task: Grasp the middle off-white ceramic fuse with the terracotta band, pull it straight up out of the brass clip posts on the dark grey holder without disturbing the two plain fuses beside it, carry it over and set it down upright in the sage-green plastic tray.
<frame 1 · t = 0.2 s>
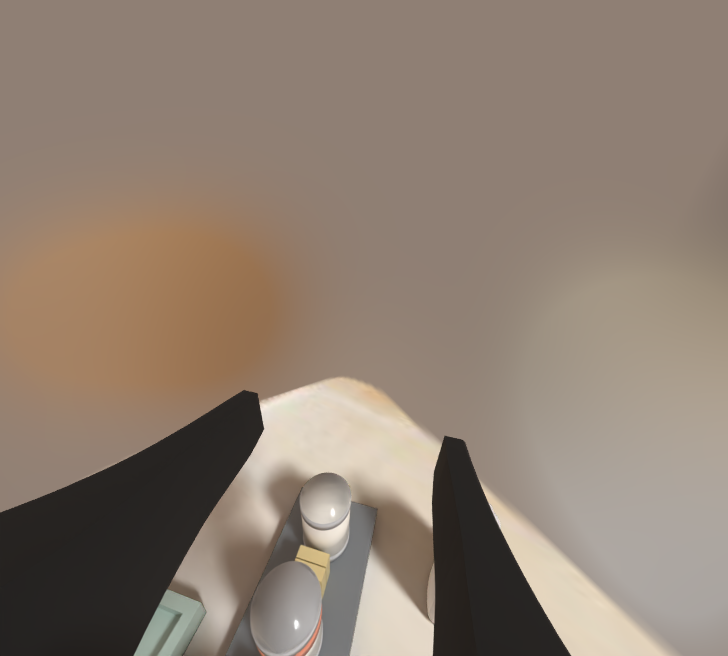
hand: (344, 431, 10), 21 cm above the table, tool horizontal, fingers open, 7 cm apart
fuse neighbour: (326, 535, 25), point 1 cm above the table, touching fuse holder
eye dropper bottle: (448, 590, 23), on the table
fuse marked: (293, 637, 19), point 1 cm above the table, touching fuse holder
fuse holder: (294, 643, 20), on the table
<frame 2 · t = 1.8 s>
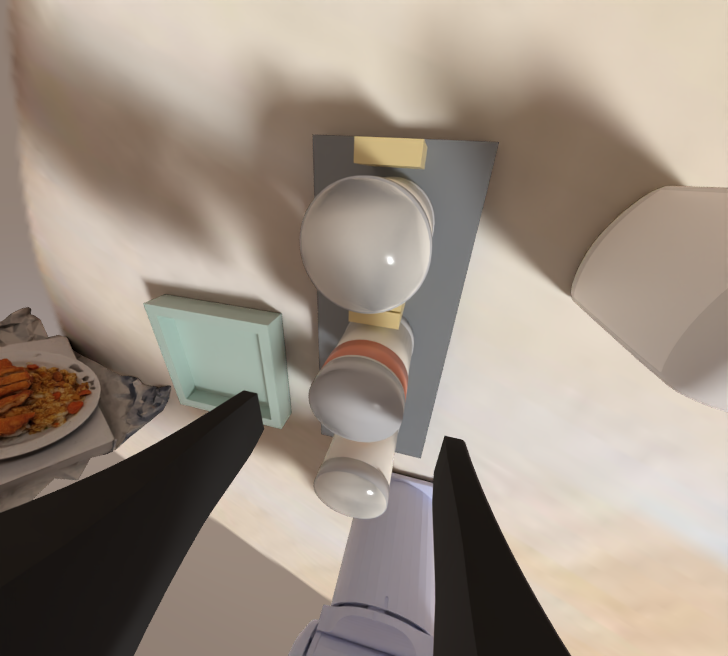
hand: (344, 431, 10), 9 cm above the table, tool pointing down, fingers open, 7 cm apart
meal: (103, 353, 27), on the table
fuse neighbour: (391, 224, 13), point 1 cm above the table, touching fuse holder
eye dropper bottle: (624, 253, 13), on the table
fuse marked: (380, 337, 17), point 1 cm above the table, touching fuse holder
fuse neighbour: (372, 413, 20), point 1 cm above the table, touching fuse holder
tray: (232, 357, 22), on the table
fuse holder: (383, 328, 18), on the table
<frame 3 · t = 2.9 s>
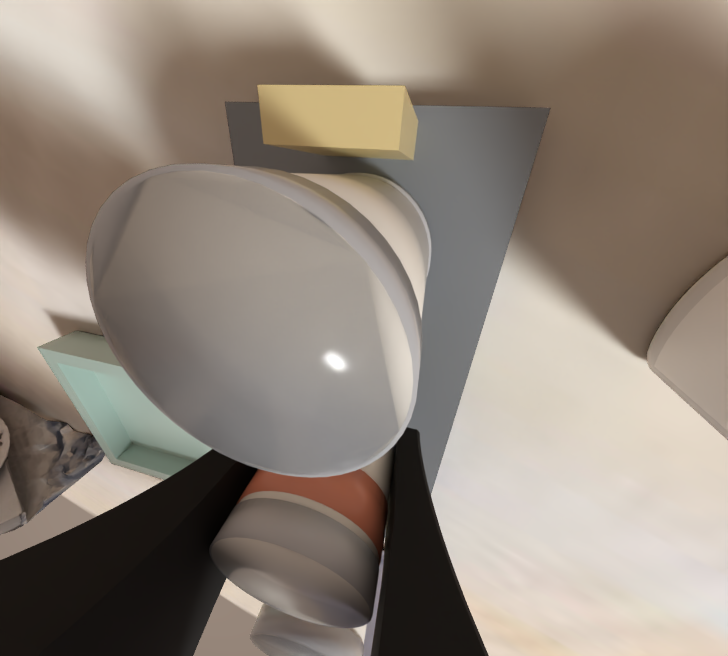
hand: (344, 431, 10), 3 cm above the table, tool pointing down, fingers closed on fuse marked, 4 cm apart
meal: (24, 393, 22), on the table
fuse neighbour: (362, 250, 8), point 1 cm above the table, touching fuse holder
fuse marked: (354, 405, 12), point 1 cm above the table, touching fuse holder, gripper
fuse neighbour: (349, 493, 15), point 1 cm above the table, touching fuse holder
tray: (171, 409, 17), on the table
fuse holder: (361, 386, 13), on the table
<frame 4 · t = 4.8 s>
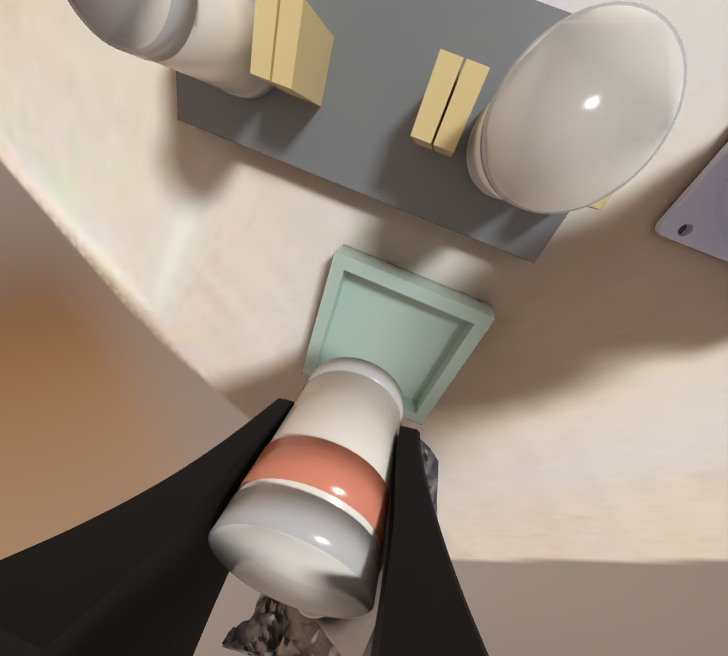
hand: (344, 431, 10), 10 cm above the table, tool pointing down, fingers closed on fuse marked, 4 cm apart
meal: (362, 463, 27), on the table
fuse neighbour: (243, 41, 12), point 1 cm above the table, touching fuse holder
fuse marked: (354, 397, 11), point 8 cm above the table, touching gripper
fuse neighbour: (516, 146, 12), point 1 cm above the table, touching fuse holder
tray: (388, 335, 19), on the table
fuse holder: (381, 99, 13), on the table
when the fingers open (3 cm above the table, at t = 6.6 s): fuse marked stays where it is, resting on tray.
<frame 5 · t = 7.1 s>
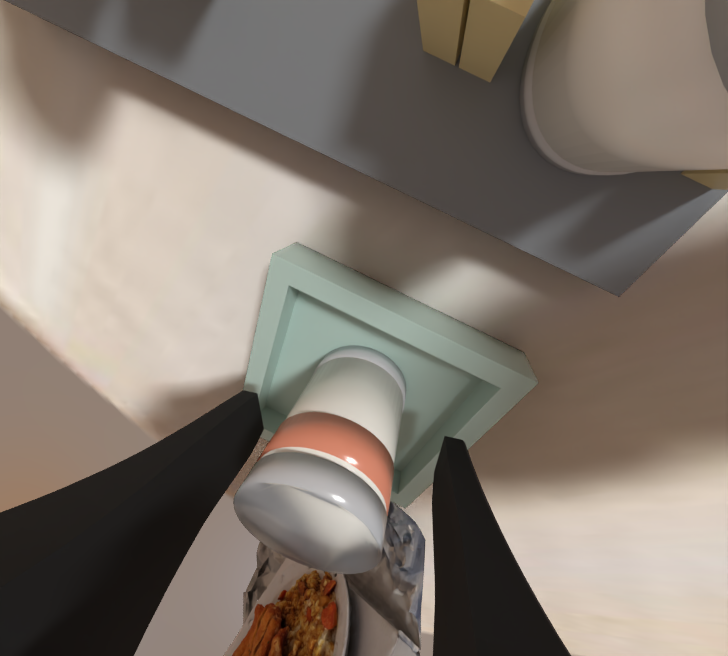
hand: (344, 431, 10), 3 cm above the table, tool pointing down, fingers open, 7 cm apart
meal: (327, 526, 21), on the table
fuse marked: (360, 384, 12), point 1 cm above the table, touching tray
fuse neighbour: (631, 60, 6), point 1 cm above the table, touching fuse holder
tray: (363, 381, 13), on the table
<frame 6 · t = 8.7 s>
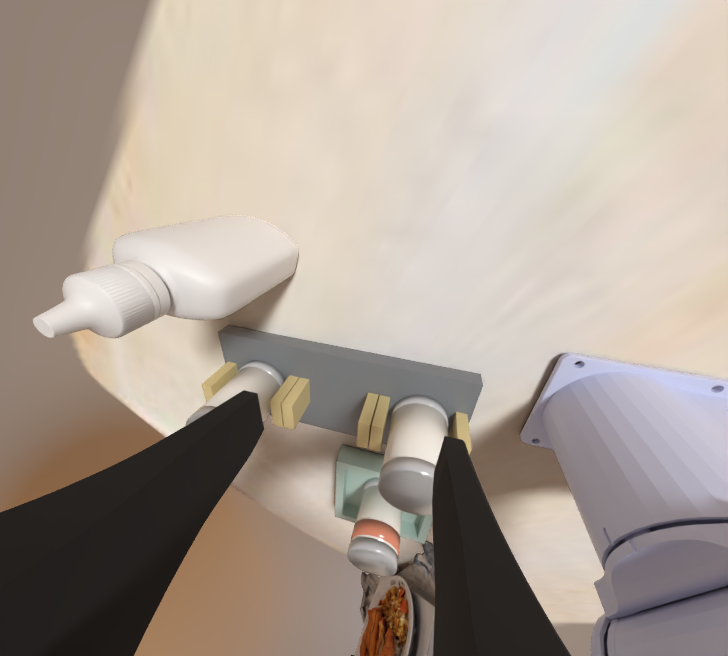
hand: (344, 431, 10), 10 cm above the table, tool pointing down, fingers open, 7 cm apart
meal: (397, 559, 35), on the table
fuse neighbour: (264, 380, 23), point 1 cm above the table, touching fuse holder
eye dropper bottle: (264, 244, 19), on the table
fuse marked: (384, 490, 27), point 1 cm above the table, touching tray
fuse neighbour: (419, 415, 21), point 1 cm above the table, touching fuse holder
tray: (386, 487, 28), on the table
fuse holder: (342, 387, 23), on the table
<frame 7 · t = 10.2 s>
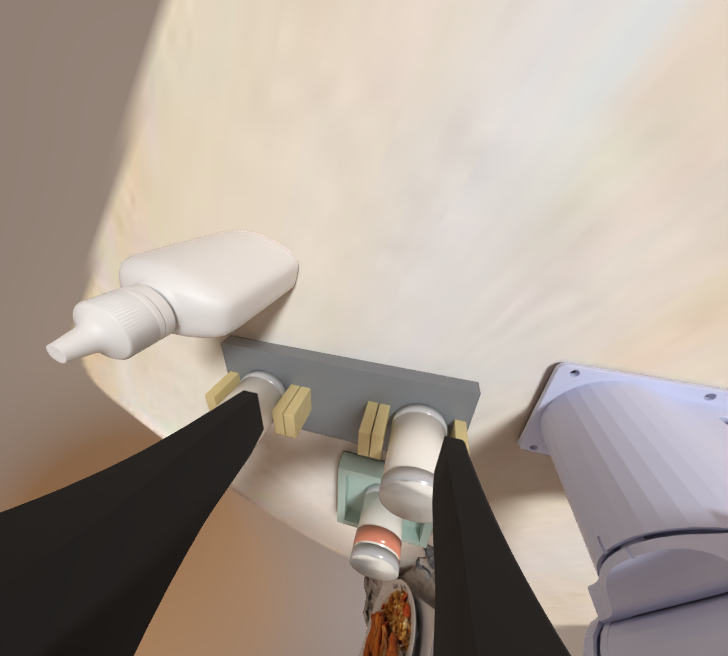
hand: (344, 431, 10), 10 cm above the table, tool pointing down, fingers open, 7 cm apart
meal: (399, 562, 35), on the table
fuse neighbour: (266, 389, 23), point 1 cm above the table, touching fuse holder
eye dropper bottle: (264, 257, 19), on the table
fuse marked: (385, 496, 28), point 1 cm above the table, touching tray
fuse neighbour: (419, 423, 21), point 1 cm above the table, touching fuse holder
tray: (387, 492, 28), on the table
fuse holder: (343, 395, 23), on the table
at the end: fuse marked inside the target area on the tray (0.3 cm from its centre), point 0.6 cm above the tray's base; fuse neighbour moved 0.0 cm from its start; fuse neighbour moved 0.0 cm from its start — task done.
